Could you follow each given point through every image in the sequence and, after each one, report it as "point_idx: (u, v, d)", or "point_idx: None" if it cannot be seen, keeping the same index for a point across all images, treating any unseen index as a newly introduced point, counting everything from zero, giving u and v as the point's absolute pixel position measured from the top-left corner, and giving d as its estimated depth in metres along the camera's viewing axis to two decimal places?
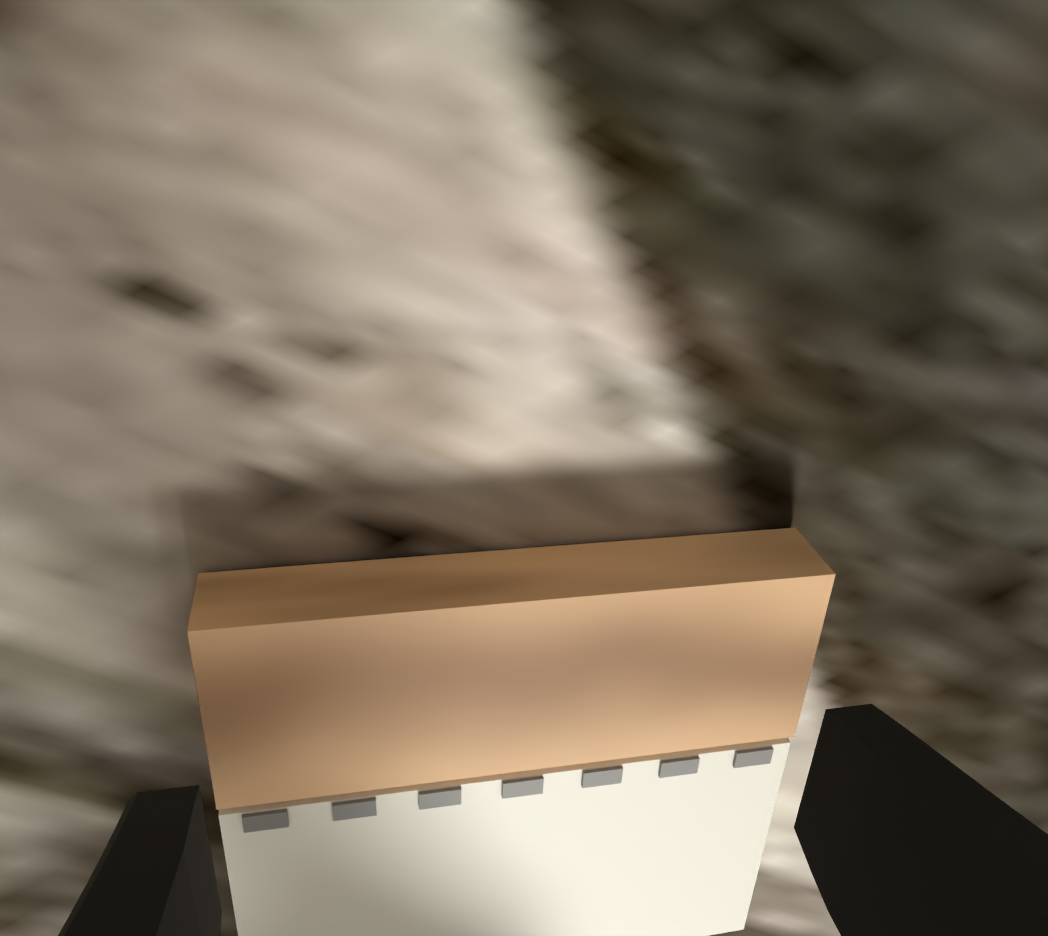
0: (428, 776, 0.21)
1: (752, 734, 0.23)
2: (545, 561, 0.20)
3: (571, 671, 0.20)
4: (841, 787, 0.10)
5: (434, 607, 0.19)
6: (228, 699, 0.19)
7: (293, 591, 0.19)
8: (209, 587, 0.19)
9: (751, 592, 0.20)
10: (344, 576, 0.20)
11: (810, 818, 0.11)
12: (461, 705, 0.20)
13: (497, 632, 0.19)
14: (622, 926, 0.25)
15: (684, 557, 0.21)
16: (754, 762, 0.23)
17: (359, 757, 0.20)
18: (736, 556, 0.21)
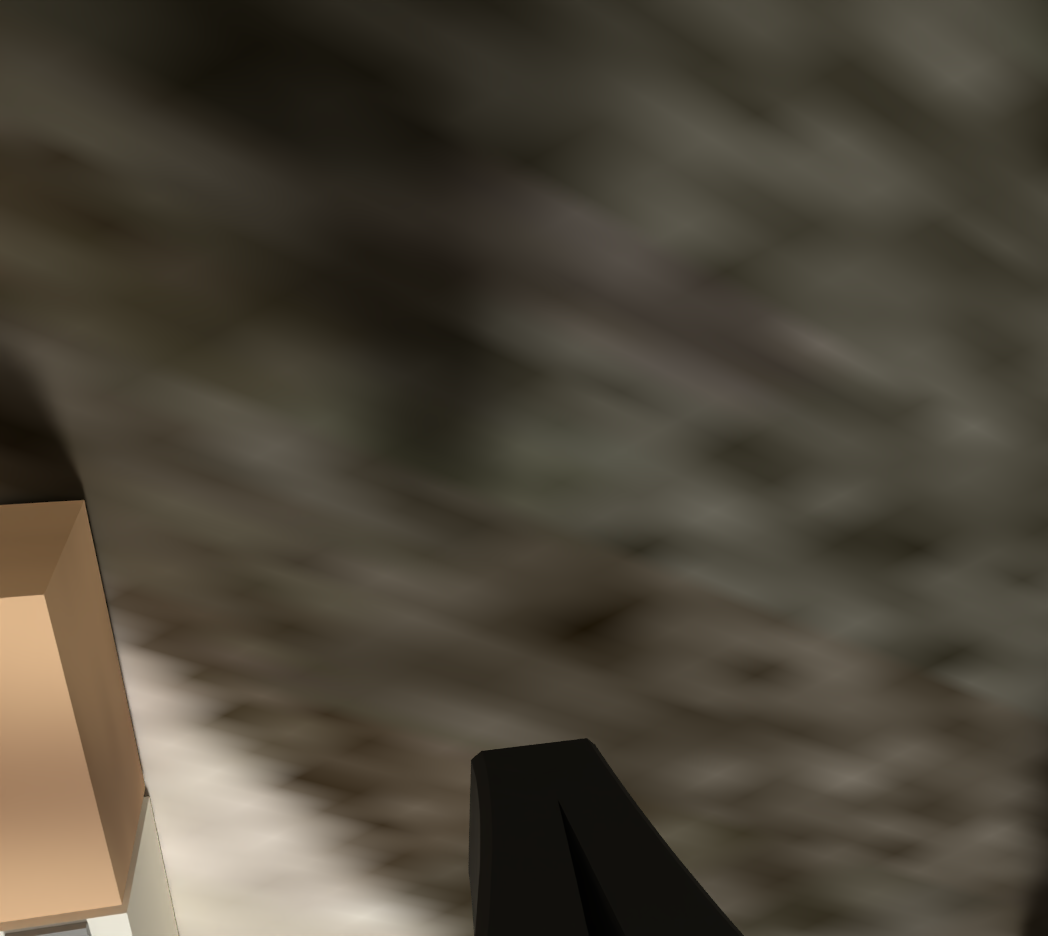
0: None
1: (20, 905, 0.12)
2: None
3: None
4: None
5: None
6: None
7: None
8: None
9: None
10: None
11: None
12: None
13: None
14: None
15: None
16: None
17: None
18: None
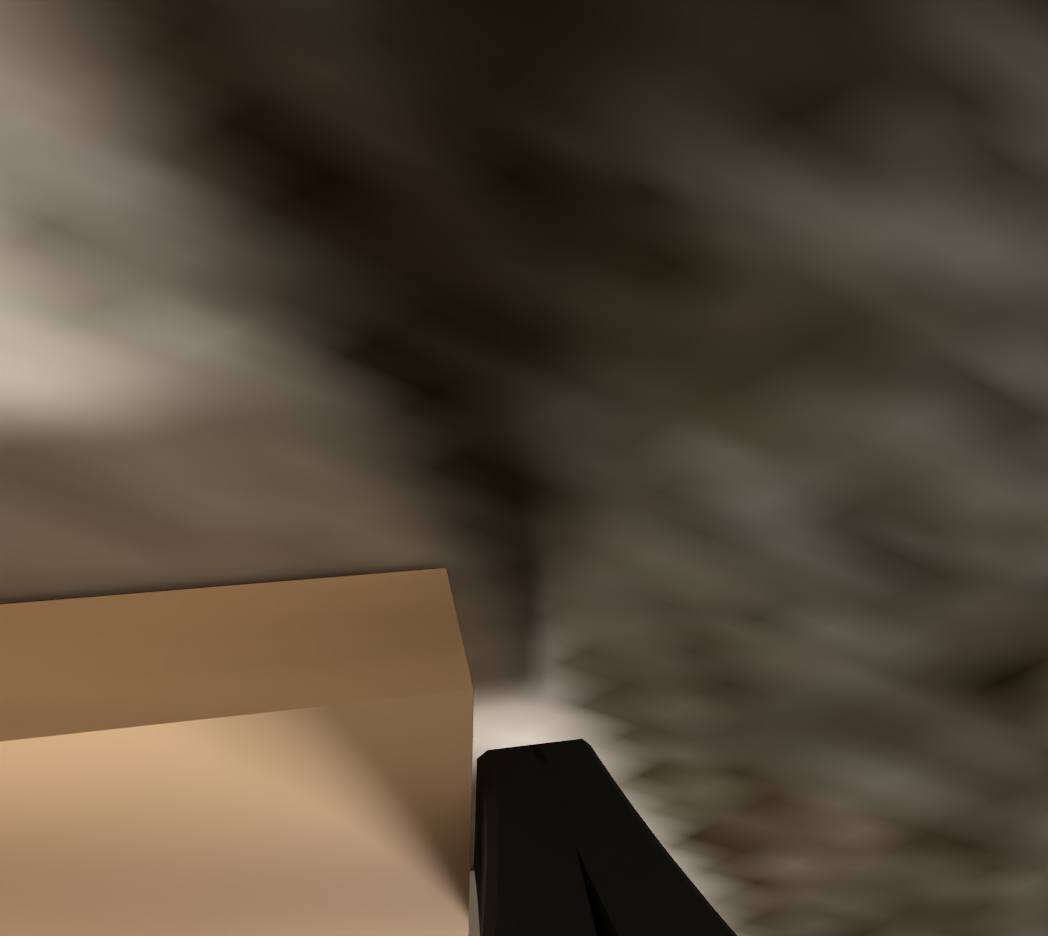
0: None
1: None
2: None
3: None
4: None
5: None
6: None
7: None
8: None
9: (252, 739, 0.08)
10: None
11: None
12: None
13: None
14: None
15: (125, 645, 0.09)
16: None
17: None
18: (258, 643, 0.09)
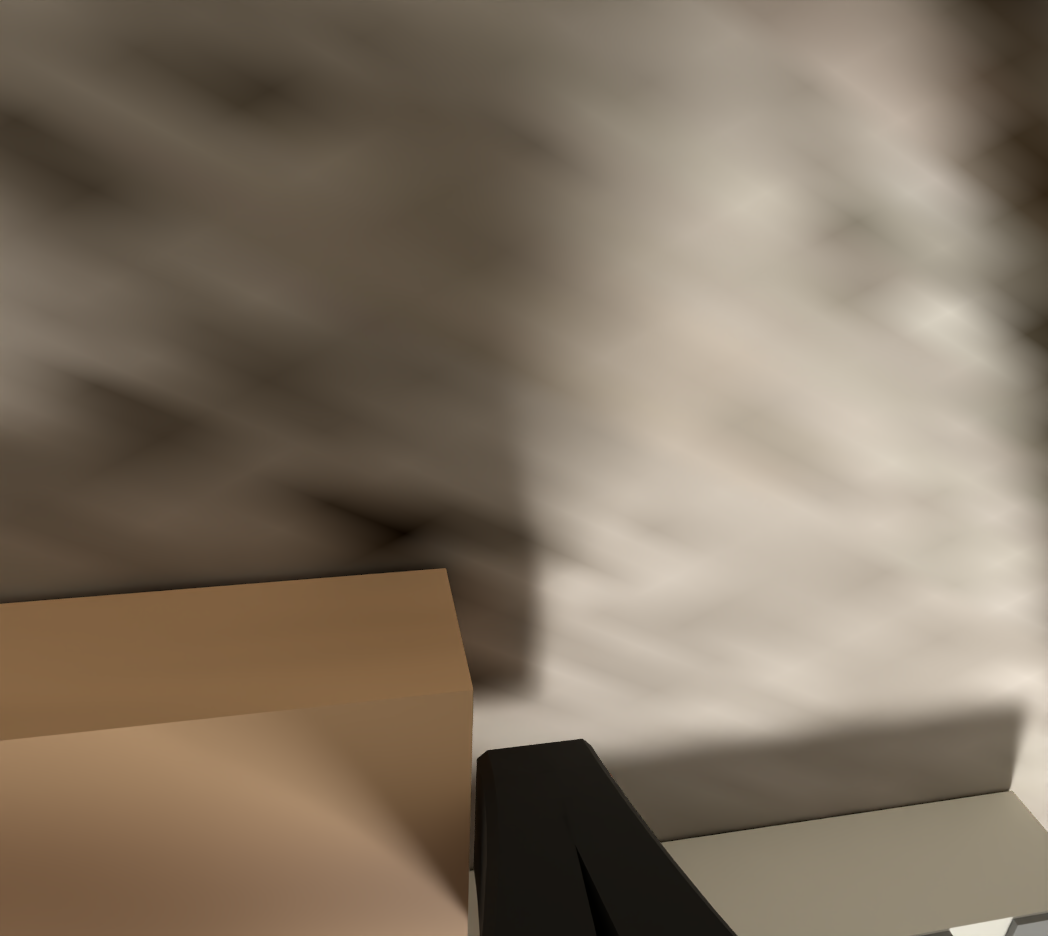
0: None
1: None
2: None
3: None
4: None
5: None
6: None
7: None
8: None
9: (253, 738, 0.08)
10: None
11: None
12: None
13: None
14: None
15: (127, 645, 0.09)
16: (1040, 935, 0.13)
17: None
18: (257, 642, 0.09)
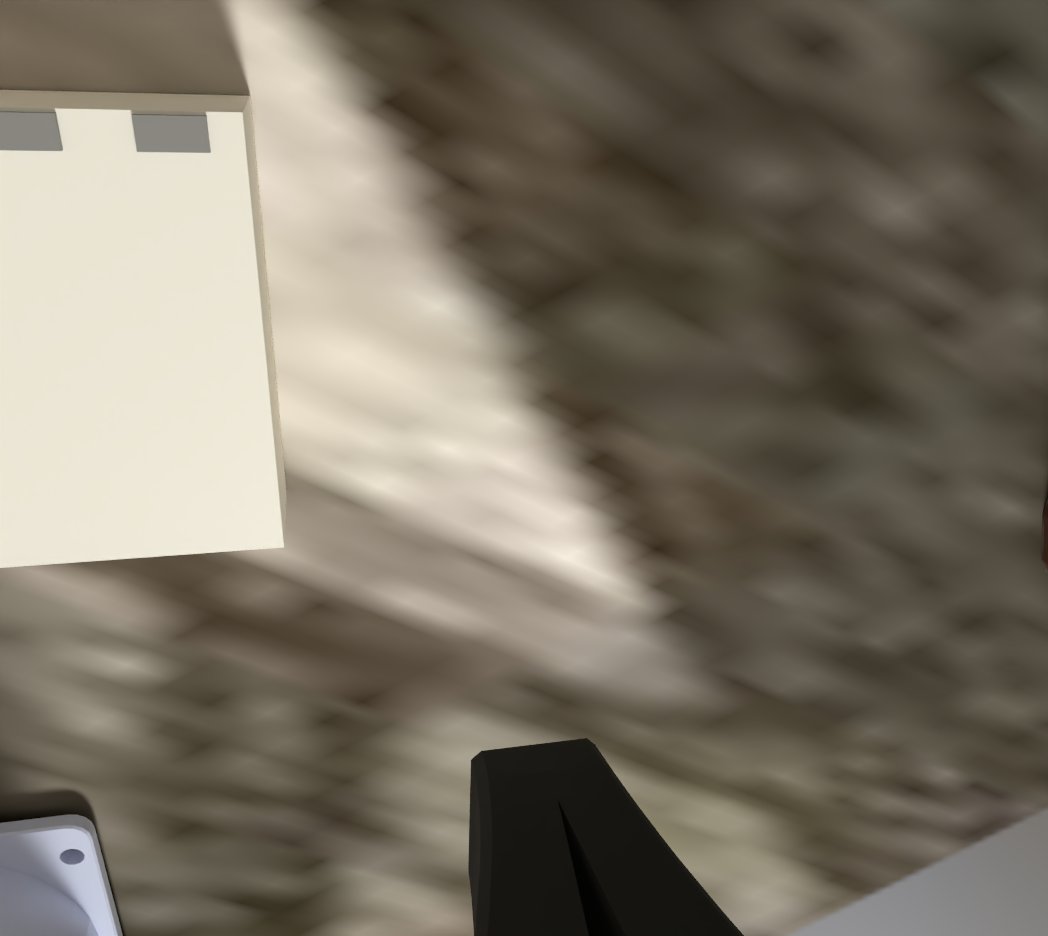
0: None
1: None
2: None
3: None
4: None
5: None
6: None
7: None
8: None
9: None
10: None
11: None
12: None
13: None
14: (45, 510, 0.15)
15: None
16: (182, 151, 0.13)
17: None
18: None
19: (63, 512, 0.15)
